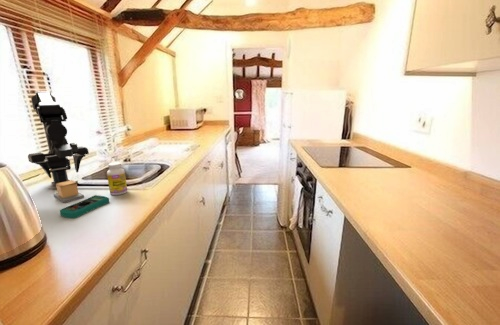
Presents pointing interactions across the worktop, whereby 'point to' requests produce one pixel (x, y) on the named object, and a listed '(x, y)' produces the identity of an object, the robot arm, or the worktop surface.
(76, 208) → the digital multimeter
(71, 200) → the post board
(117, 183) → the supplement bottle
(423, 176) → the worktop surface
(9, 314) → the worktop surface
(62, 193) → the tan wooden block
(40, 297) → the worktop surface
